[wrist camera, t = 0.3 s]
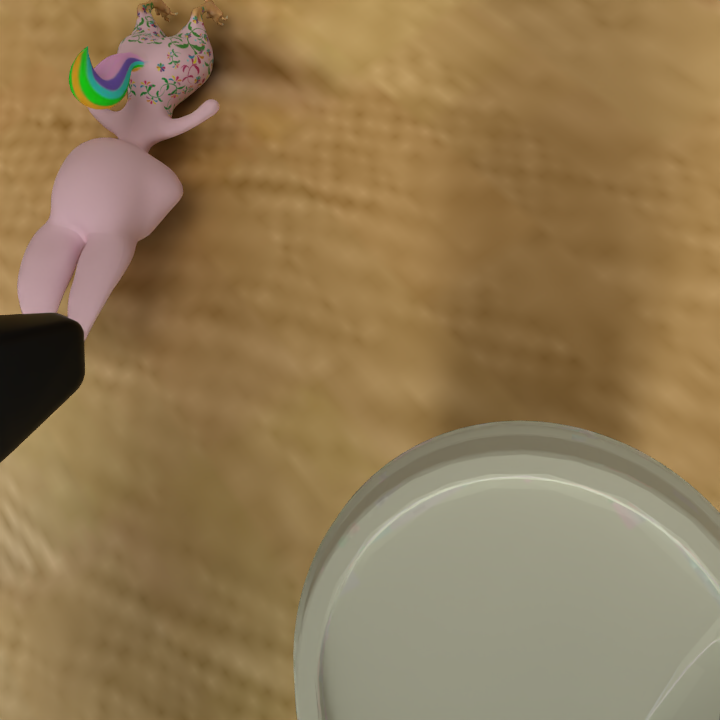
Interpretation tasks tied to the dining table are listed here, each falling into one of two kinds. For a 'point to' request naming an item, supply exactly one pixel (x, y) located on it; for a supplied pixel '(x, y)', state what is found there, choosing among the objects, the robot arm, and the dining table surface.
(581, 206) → the dining table surface
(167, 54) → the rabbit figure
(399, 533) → the coffee cup
